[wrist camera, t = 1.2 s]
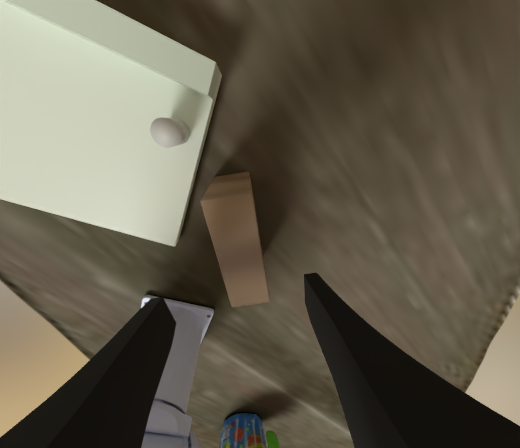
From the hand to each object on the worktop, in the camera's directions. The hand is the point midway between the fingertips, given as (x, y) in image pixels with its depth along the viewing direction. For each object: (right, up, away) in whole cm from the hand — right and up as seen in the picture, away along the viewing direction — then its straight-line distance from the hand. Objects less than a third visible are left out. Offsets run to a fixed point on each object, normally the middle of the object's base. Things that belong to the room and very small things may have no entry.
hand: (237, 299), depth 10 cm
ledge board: (-11, +11, +4) cm, 16 cm away
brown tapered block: (-1, +4, +9) cm, 10 cm away
